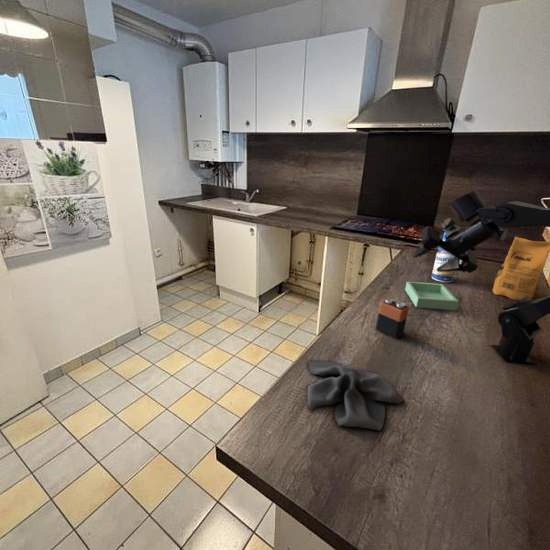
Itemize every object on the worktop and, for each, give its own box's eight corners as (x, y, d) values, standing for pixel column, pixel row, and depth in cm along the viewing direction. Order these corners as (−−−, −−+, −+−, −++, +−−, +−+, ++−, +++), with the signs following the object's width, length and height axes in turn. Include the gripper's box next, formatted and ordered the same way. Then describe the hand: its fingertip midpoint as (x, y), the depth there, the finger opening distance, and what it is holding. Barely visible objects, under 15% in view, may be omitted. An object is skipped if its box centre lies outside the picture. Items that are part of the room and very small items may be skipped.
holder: (456, 310, 99) (458, 301, 97) (415, 307, 100) (418, 298, 99) (440, 292, 111) (442, 284, 110) (405, 289, 113) (406, 281, 112)
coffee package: (493, 285, 118) (511, 233, 110) (532, 295, 110) (555, 239, 102) (489, 293, 111) (508, 238, 103) (530, 304, 104) (555, 245, 95)
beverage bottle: (457, 281, 121) (471, 235, 114) (443, 284, 118) (455, 236, 111) (440, 274, 129) (452, 230, 121) (426, 276, 126) (437, 231, 118)
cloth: (408, 388, 65) (413, 367, 63) (381, 451, 51) (387, 426, 49) (320, 350, 77) (322, 330, 75) (279, 392, 63) (280, 370, 61)
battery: (396, 339, 83) (403, 308, 79) (374, 329, 87) (380, 299, 83) (403, 333, 85) (410, 303, 81) (382, 324, 90) (387, 295, 86)
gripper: (493, 232, 85) (447, 258, 98) (444, 200, 82) (403, 231, 95) (499, 260, 79) (449, 284, 91) (446, 226, 76) (401, 256, 88)
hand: (425, 263), depth 92 cm, fingers open, 9 cm apart
